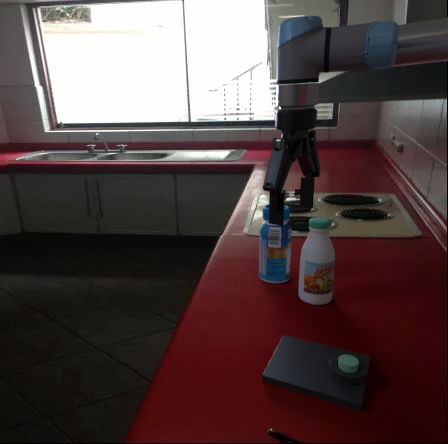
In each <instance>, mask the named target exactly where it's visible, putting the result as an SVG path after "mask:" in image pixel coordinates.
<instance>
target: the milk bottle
mask: <svg viewBox="0 0 448 444" xmlns="http://www.w3.org/2000/svg"><path fill="white" fill-rule="evenodd" d="M331 223H332V222H331V220H330V219H329V218H327V217H320V216H318V217H317V216H316V217H311V218H310V219H309V221H308V229H309V232H308V235H307V238H306V240H305V242H304V243H303V245H302V248H301V250H300V258H299V273H298V294H297V295H298V297H299V299H300V300H301V301H303V302H304V303H306V304H310V305H318V306H320V305H321V306H322V305H327V304H329V303H330V302H332V299H333V294H334V293H333V291H334V280H335V278H334V277H335V265H336V263H335V262H336V252H335V248H334V245H333V243H332V240H331V237H330V230H331Z"/></svg>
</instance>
